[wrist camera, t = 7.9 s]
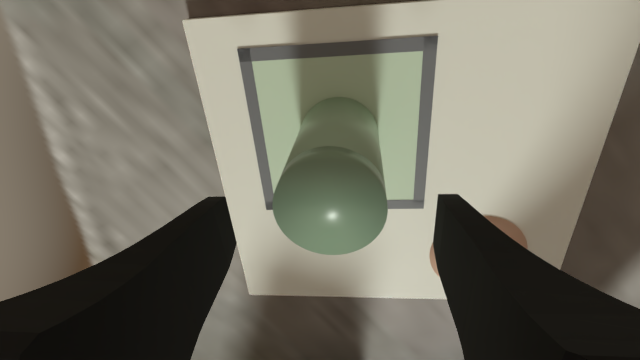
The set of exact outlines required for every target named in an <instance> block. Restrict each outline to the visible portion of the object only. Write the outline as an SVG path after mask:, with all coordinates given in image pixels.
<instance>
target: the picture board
mask: <svg viewBox="0 0 640 360" xmlns="http://www.w3.org/2000/svg"><path fill="white" fill-rule="evenodd" d="M182 22H183V26H184V30H185V34H186V38H187V42H188V46H189V50H190V54H191V58H192V62H193V67H194V71H195V75H196V79H197V83H198V87H199V91H200V95H201V99H202V103H203V107H204V111H205V115H206V119H207V124H208V128H209V132H210V136H211V140H212V144H213V148H214V152H215V156H216V160H217V164H218V168H219V172H220V176H221V181H222V185H223V189H224V193H225V197H226V201H227V205H228V209H229V213H230V217H231V221H232V225H233V229H234V233H235V238H236V242H237V246H238V250H239V254H240V258H241V262H242V266H243V270H244V274H245V278H246V282H247V286H248V290H249V295H279V296H324V297H369V298H415V299H447V298H446V295H445V292H444V289H443V286H442V282H441V279H440V276H439V273H438V269H437V264H436V259H435V253H434V248H433V237H434V228H435V218H436V209H437V199H438V194H458V195H460V196H461V197H462V198H463V199H464V200H465V201H467V202H468V203H469V204H470V205H471V206H472V207H474V208H475V209H476V210H477V211H478V212H479V213H481V214H482V215H483V216H484V217H485V218H486V219H488V220H489V221H490V222H491V223H493V224H494V225H495V226H496V227H498V228H499V229H500V230H501V231H503V232H504V233H505V234H507V235H508V236H509V237H511V238H512V239H513V240H515V241H516V242H518V243H519V244H520V245H522V246H523V247H524V248H526V249H527V250H529V251H530V252H532V253H533V254H535V255H536V256H538V257H540V258H541V259H543V260H545V261H546V262H548V263H549V264H551V265H553V266H554V267H556V268H558V269H559V270H560V269H561V266H562V263H563V260H564V257H565V254H566V251H567V249H568V246H569V243H570V240H571V237H572V234H573V231H574V229H575V226H576V223H577V220H578V217H579V214H580V211H581V209H582V206H583V203H584V200H585V197H586V194H587V191H588V189H589V186H590V183H591V180H592V177H593V174H594V171H595V169H596V166H597V163H598V160H599V157H600V154H601V151H602V149H603V146H604V143H605V140H606V137H607V134H608V132H609V129H610V126H611V123H612V120H613V117H614V114H615V112H616V109H617V106H618V103H619V100H620V97H621V94H622V92H623V89H624V86H625V83H626V80H627V77H628V74H629V72H630V69H631V66H632V63H633V60H634V57H635V54H636V52H637V49H638V46H639V43H640V0H421V1H408V2H395V3H382V4H370V5H357V6H344V7H331V8H318V9H305V10H293V11H280V12H267V13H254V14H241V15H228V16H215V17H203V18H190V19H185V20H182ZM333 97H345V98H350V99H353V100H356V101H358V102H360V103H361V104H363V105H364V106H365V107H367V108H368V109H369V110H370V112H371V113H372V114H373V116H374V118H375V120H376V123H377V127H378V134H379V142H380V150H381V157H382V165H383V173H384V181H385V189H386V197H387V206H388V213H387V219H386V223H385V225H384V227H383V229H382V231H381V232H380V234H379V235H378V236H377V237H376V239H374V240H373V241H372V242H371V243H370V244H368V245H367V246H365V247H363V248H362V249H360V250H357V251H355V252H351V253H348V254H342V255H325V254H319V253H315V252H311V251H308V250H306V249H304V248H302V247H300V246H298V245H297V244H295V243H294V242H292V241H291V240H290V239H289V238H288V237H287V236H286V235H285V234H284V233H283V232H282V231H281V229H280V228H279V226H278V224H277V222H276V220H275V217H274V213H273V207H272V204H273V196H274V192H275V189H276V187H277V184H278V182H279V179H280V177H281V174H282V172H283V169H284V167H285V165H286V162H287V160H288V157H289V155H290V152H291V150H292V147H293V145H294V142H295V140H296V138H297V135H298V133H299V130H300V128H301V125H302V123H303V120H304V118H305V116H306V114H307V113H308V112H309V110H310V109H311V108H312V107H313V106H315V105H316V104H317V103H319V102H321V101H323V100H325V99H328V98H333Z"/></svg>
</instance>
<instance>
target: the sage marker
mask: <svg viewBox="0 0 640 360" xmlns="http://www.w3.org/2000/svg"><path fill="white" fill-rule="evenodd" d="M272 207H273V213H274V217H275V220H276V222H277V224H278V226H279V228H280V229H281V231H282V232H283V233H284V234H285V235H286V236H287V237H288V238H289V239H290V240H291V241H292V242H294V243H295V244H297V245H298V246H300V247H302V248H304V249H306V250H308V251H311V252H315V253H319V254H325V255H342V254H348V253H351V252H355V251H357V250H360V249H362V248H363V247H365V246H367V245H368V244H370V243H371V242H372V241H373V240H374V239H376V237H377V236H378V235H379V234H380V232H381V231H382V229H383V227H384V225H385V223H386V219H387V213H388V206H387V197H386V189H385V181H384V173H383V165H382V157H381V150H380V142H379V134H378V127H377V123H376V120H375V118H374V116H373V114H372V113H371V112H370V110H369V109H368V108H367V107H365V106H364V105H363V104H361V103H360V102H358V101H356V100H353V99H350V98H345V97H333V98H328V99H325V100H323V101H321V102H319V103H317V104H316V105H315V106H313V107H312V108H311V109H310V110H309V112H308V113H307V114H306V116H305V118H304V120H303V123H302V125H301V128H300V130H299V133H298V135H297V138H296V140H295V142H294V145H293V147H292V150H291V152H290V155H289V157H288V160H287V162H286V165H285V167H284V169H283V172H282V174H281V177H280V179H279V182H278V184H277V187H276V189H275V192H274V196H273V204H272Z"/></svg>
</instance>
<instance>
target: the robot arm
mask: <svg viewBox="0 0 640 360" xmlns="http://www.w3.org/2000/svg"><path fill="white" fill-rule="evenodd" d="M236 243H237V242H236V238H235V234H234V230H233V226H232V222H231V218H230V214H229V210H228V206H227V201H226V197H208V198H206V199H204V200H202V201H201V202H199V203H197V204H196V205H194V206H193V207H191V208H190V209H188V210H187V211H185V212H184V213H182V214H181V215H179V216H178V217H176V218H175V219H173V220H172V221H170V222H169V223H167V224H166V225H164V226H163V227H161V228H160V229H158V230H157V231H155V232H153V233H152V234H150V235H148V236H147V237H145V238H144V239H142V240H140V241H139V242H137V243H136V244H134V245H132V246H130V247H129V248H127V249H125V250H123V251H121V252H119V253H118V254H116V255H114V256H112V257H110V258H108V259H106V260H104V261H102V262H100V263H98V264H96V265H93V266H91V267H89V268H87V269H84V270H82V271H80V272H78V273H76V274H74V275H71V276H69V277H67V278H64V279H62V280H59V281H57V282H54V283H52V284H49V285H47V286H44V287H41V288H39V289H36V290H33V291H31V292H28V293H25V294H22V295H19V296H16V297H13V298H10V299H7V300H4V301H1V302H0V360H190V359H191V356H192V353H193V350H194V347H195V345H196V342H197V339H198V336H199V333H200V331H201V328H202V326H203V324H204V321H205V319H206V317H207V315H208V313H209V311H210V309H211V306H212V304H213V302H214V300H215V298H216V296H217V293H218V291H219V289H220V287H221V285H222V283H223V280H224V278H225V276H226V274H227V271H228V269H229V267H230V264H231V260H232V257H233V254H234V250H235V246H236ZM433 248H434V253H435V259H436V264H437V269H438V273H439V276H440V279H441V282H442V286H443V289H444V292H445V295H446V298H447V301H448V304H449V307H450V310H451V313H452V316H453V319H454V322H455V325H456V328H457V331H458V335H459V338H460V342H461V346H462V350H463V355H464V359H465V360H640V309H638V308H636V307H634V306H632V305H629V304H627V303H625V302H622V301H620V300H618V299H616V298H614V297H612V296H609V295H607V294H605V293H603V292H601V291H599V290H597V289H595V288H593V287H591V286H589V285H587V284H585V283H583V282H581V281H580V280H578V279H576V278H574V277H572V276H570V275H568V274H567V273H565V272H563V271H561V270H559V269H558V268H556V267H554V266H553V265H551V264H549V263H548V262H546V261H545V260H543V259H541V258H540V257H538V256H536V255H535V254H533V253H532V252H530V251H529V250H527V249H526V248H524V247H523V246H522V245H520V244H519V243H518V242H516V241H515V240H513V239H512V238H511V237H509V236H508V235H507V234H505V233H504V232H503V231H501V230H500V229H499V228H498V227H496V226H495V225H494V224H493V223H491V222H490V221H489V220H488V219H486V218H485V217H484V216H483V215H482V214H481V213H479V212H478V211H477V210H476V209H475V208H474V207H472V206H471V205H470V204H469V203H468V202H467V201H465V200H464V199H463V198H462V197H461V196H460V195H458V194H438V199H437V209H436V218H435V228H434V237H433Z"/></svg>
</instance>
